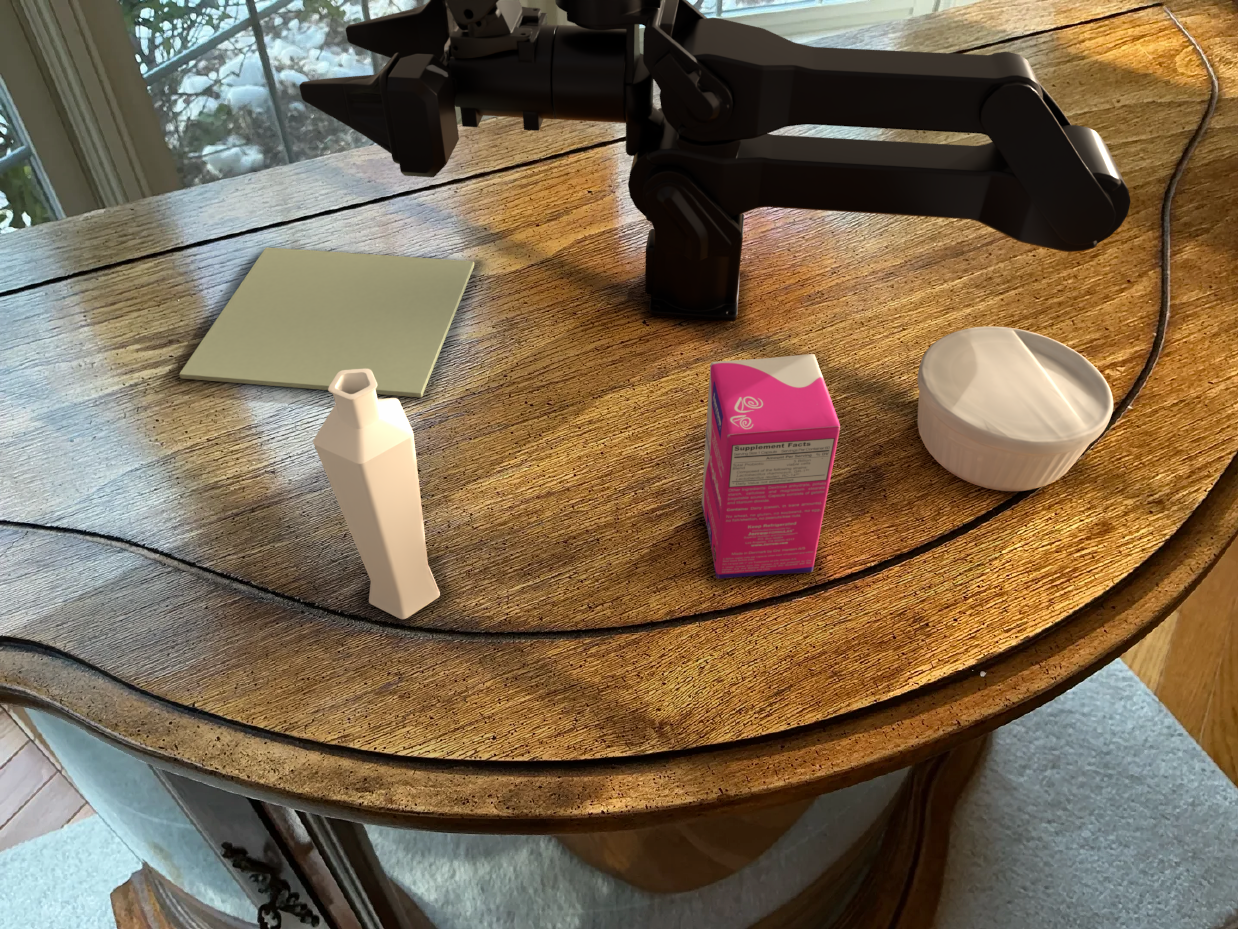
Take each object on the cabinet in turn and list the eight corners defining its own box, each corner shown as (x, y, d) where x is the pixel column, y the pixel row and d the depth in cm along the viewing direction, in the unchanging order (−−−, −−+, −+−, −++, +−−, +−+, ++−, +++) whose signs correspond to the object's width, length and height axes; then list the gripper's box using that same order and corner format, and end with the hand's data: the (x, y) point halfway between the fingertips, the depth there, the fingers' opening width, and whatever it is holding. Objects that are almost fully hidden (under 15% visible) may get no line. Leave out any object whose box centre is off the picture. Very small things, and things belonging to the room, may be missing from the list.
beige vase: (432, 630, 53) (384, 423, 42) (354, 617, 53) (289, 410, 43) (459, 565, 56) (421, 357, 45) (385, 553, 57) (331, 345, 46)
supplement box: (696, 506, 59) (708, 356, 51) (793, 500, 59) (821, 350, 51) (711, 582, 55) (727, 432, 47) (815, 575, 55) (848, 425, 47)
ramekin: (1118, 448, 63) (1150, 385, 59) (1021, 536, 57) (1049, 472, 54) (969, 365, 69) (989, 302, 65) (868, 438, 63) (883, 374, 60)
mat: (474, 265, 77) (474, 261, 77) (421, 397, 66) (420, 393, 66) (266, 251, 79) (265, 247, 79) (180, 378, 68) (178, 374, 67)
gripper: (575, -109, 65) (345, -117, 66) (522, -6, 51) (236, -18, 53) (580, 61, 73) (374, 50, 74) (535, 188, 59) (285, 173, 61)
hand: (325, 61), depth 65 cm, fingers open, 9 cm apart
